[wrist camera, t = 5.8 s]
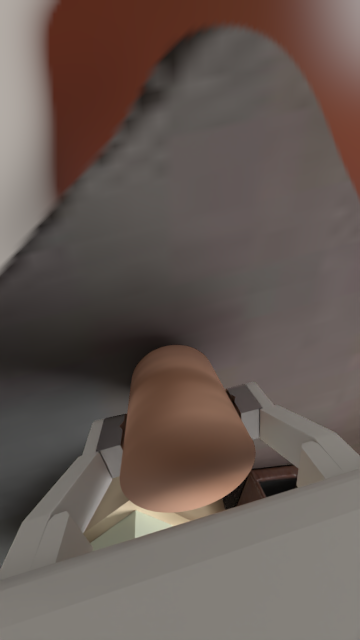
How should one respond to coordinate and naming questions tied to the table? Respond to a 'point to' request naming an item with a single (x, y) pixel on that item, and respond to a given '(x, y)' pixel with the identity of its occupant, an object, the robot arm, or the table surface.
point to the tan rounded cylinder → (181, 434)
